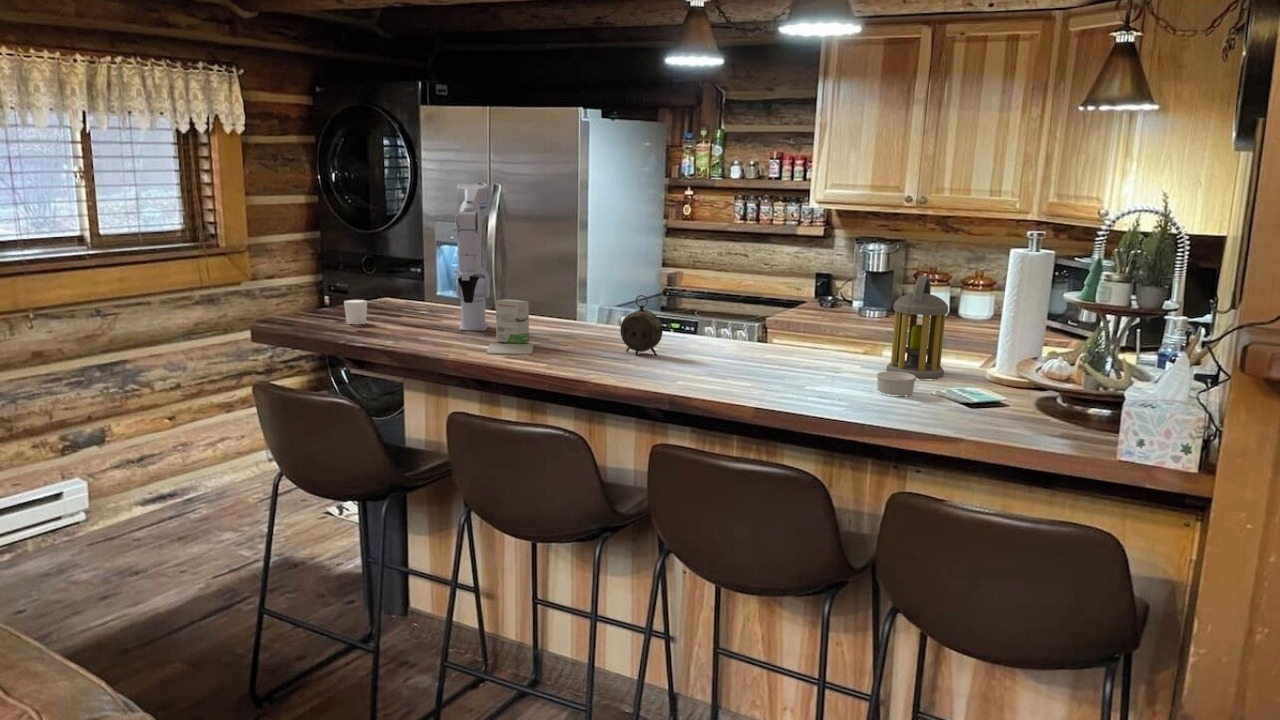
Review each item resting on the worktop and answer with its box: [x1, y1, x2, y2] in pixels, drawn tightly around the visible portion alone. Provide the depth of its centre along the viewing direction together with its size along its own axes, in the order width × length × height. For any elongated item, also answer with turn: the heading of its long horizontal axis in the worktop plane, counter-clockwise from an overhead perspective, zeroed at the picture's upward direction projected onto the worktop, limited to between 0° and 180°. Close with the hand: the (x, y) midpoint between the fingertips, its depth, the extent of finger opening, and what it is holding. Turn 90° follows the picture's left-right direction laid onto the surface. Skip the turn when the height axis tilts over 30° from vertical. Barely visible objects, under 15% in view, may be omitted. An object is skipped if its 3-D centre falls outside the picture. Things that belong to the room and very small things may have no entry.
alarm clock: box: [620, 294, 663, 356], centre depth 256 cm, size 11×5×16 cm, turn 66°
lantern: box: [885, 275, 949, 380], centre depth 241 cm, size 14×14×25 cm
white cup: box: [343, 299, 368, 325], centre depth 291 cm, size 7×7×7 cm
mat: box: [486, 343, 535, 355], centre depth 259 cm, size 12×12×1 cm
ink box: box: [495, 298, 530, 344], centre depth 268 cm, size 9×5×12 cm, turn 55°
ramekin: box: [876, 371, 917, 396], centre depth 223 cm, size 9×9×4 cm
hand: (468, 302), depth 271 cm, fingers closed
